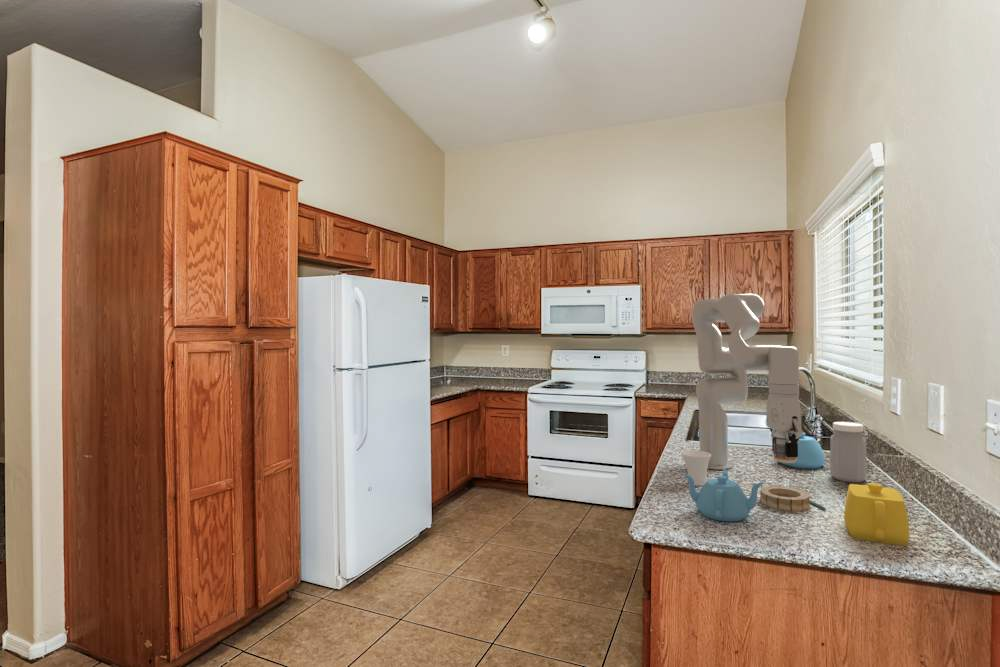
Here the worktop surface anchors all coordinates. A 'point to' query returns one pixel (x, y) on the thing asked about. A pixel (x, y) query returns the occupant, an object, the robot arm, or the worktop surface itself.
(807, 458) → the sugar bowl
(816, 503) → the green stick
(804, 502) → the segmented tan ring
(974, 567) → the worktop surface
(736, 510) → the teapot
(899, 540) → the teapot
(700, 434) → the robot arm
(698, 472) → the cup
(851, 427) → the jar
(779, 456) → the pill bottle
